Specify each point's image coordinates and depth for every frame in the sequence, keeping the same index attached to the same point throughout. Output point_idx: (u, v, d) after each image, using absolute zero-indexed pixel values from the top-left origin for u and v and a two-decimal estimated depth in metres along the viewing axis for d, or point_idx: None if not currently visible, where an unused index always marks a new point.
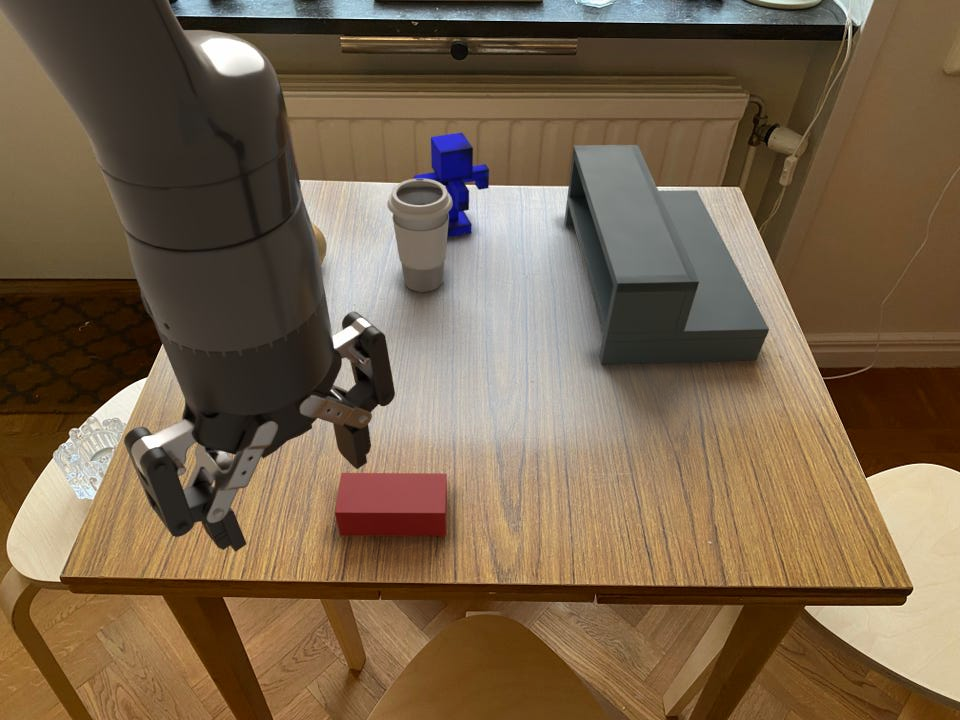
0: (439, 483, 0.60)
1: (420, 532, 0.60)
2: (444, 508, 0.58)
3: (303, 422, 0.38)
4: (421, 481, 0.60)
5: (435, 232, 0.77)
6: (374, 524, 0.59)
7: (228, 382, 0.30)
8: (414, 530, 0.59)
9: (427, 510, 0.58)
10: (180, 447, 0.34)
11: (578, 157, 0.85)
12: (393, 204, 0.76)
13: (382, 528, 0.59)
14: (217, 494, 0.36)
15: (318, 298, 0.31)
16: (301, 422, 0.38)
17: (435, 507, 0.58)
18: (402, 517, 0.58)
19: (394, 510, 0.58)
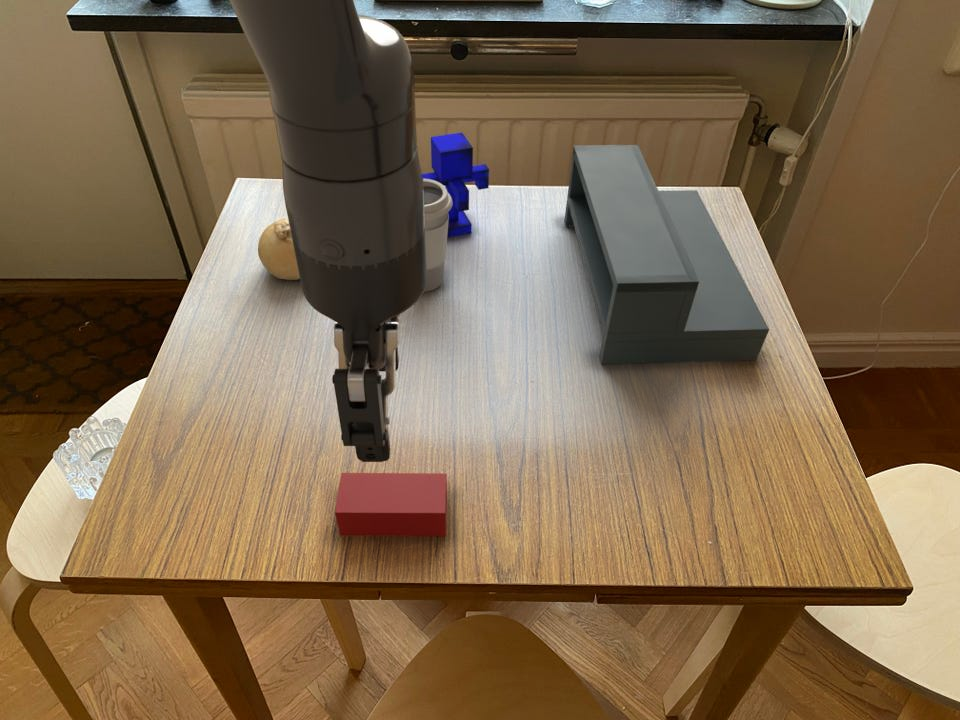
0: (439, 483, 0.60)
1: (420, 532, 0.60)
2: (444, 508, 0.58)
3: None
4: (421, 481, 0.60)
5: (435, 232, 0.77)
6: (374, 524, 0.59)
7: (405, 279, 0.40)
8: (414, 530, 0.59)
9: (427, 510, 0.58)
10: (367, 367, 0.41)
11: (578, 157, 0.85)
12: None
13: (382, 528, 0.59)
14: (385, 402, 0.44)
15: None
16: None
17: (435, 507, 0.58)
18: (402, 517, 0.58)
19: (394, 510, 0.58)
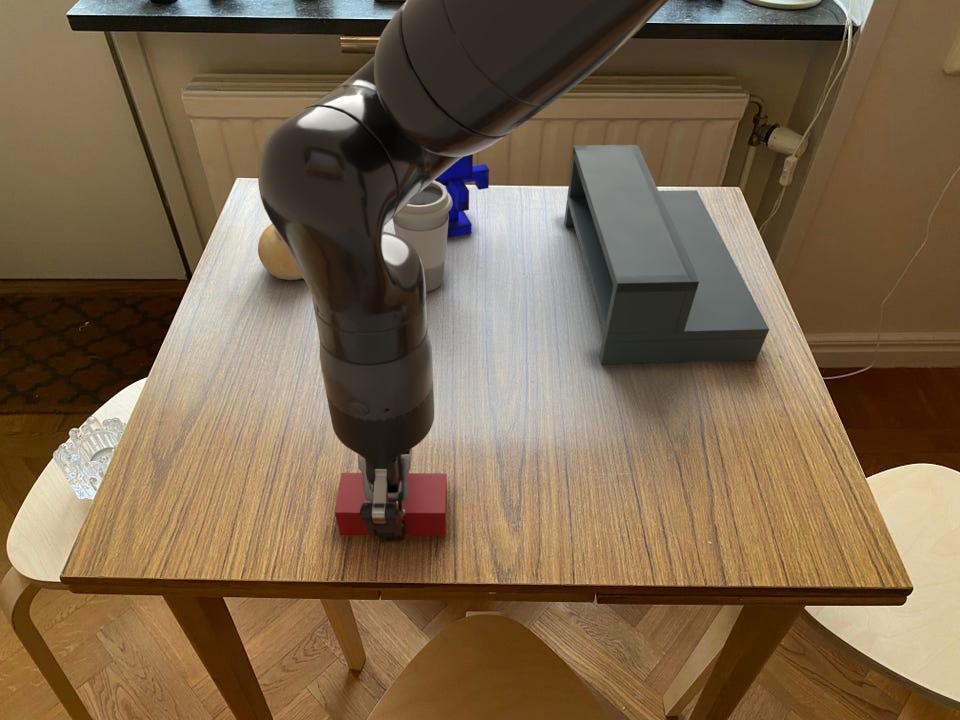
0: (439, 483, 0.60)
1: (420, 532, 0.60)
2: (444, 508, 0.58)
3: None
4: (421, 481, 0.60)
5: (435, 232, 0.77)
6: None
7: (417, 424, 0.49)
8: (414, 530, 0.59)
9: (427, 510, 0.58)
10: (387, 494, 0.51)
11: (578, 157, 0.85)
12: None
13: None
14: None
15: None
16: None
17: (435, 507, 0.58)
18: None
19: None
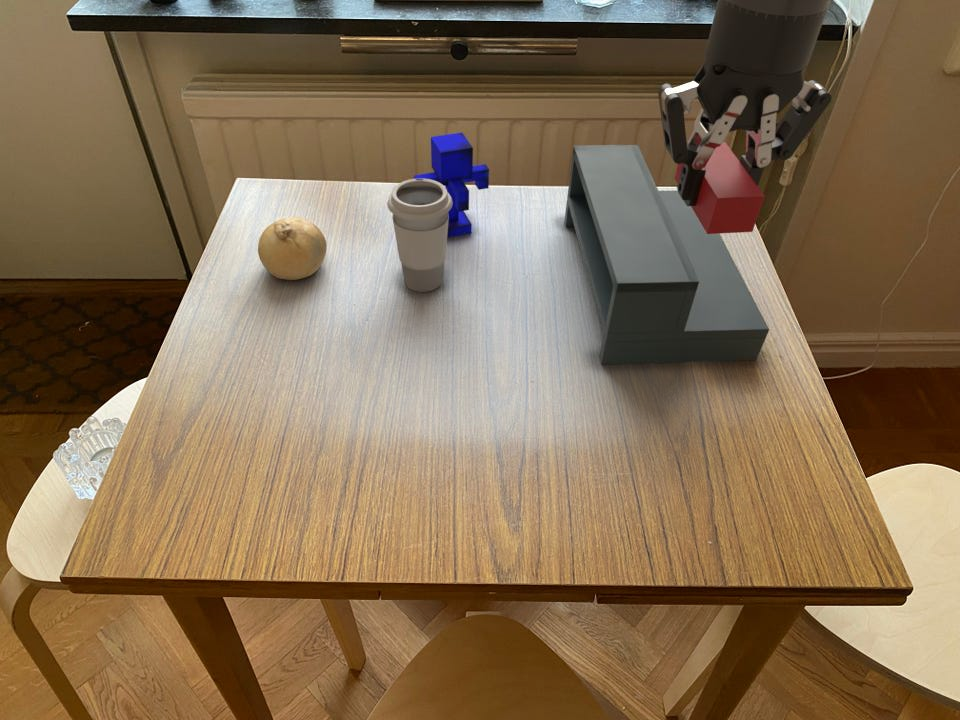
0: (749, 192, 0.58)
1: (700, 214, 0.61)
2: (723, 197, 0.57)
3: (756, 120, 0.56)
4: (745, 182, 0.59)
5: (435, 232, 0.77)
6: None
7: (746, 38, 0.50)
8: (699, 208, 0.61)
9: (715, 188, 0.58)
10: (688, 97, 0.55)
11: (578, 157, 0.85)
12: (393, 204, 0.76)
13: None
14: (707, 147, 0.57)
15: (824, 7, 0.49)
16: (755, 119, 0.56)
17: (720, 192, 0.58)
18: None
19: None
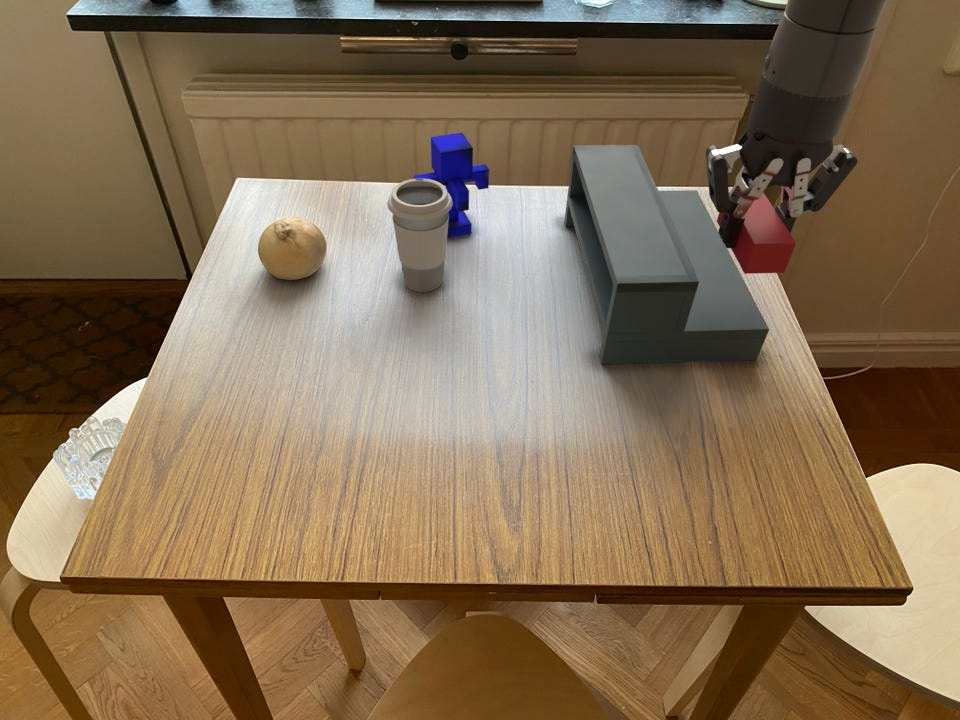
0: (782, 239, 0.66)
1: (738, 255, 0.69)
2: (759, 243, 0.66)
3: (791, 178, 0.65)
4: (779, 230, 0.68)
5: (435, 232, 0.77)
6: None
7: (784, 113, 0.59)
8: (738, 250, 0.70)
9: (752, 234, 0.67)
10: (732, 158, 0.64)
11: (578, 157, 0.85)
12: (393, 204, 0.76)
13: None
14: (747, 200, 0.66)
15: (851, 89, 0.57)
16: (790, 177, 0.65)
17: (757, 238, 0.66)
18: None
19: None
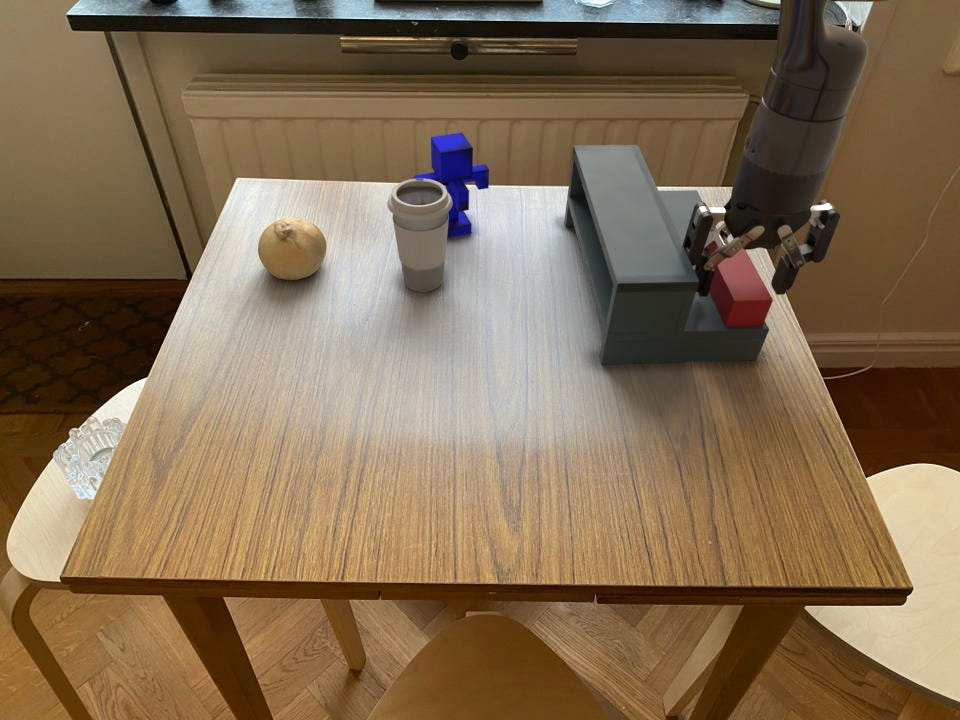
0: (760, 296, 0.71)
1: (720, 309, 0.74)
2: (738, 300, 0.71)
3: (772, 241, 0.70)
4: (758, 286, 0.72)
5: (435, 232, 0.77)
6: None
7: (763, 188, 0.64)
8: (719, 303, 0.74)
9: (732, 291, 0.72)
10: (717, 218, 0.68)
11: (578, 157, 0.85)
12: (393, 204, 0.76)
13: (713, 285, 0.76)
14: (716, 254, 0.71)
15: (824, 167, 0.62)
16: (771, 241, 0.70)
17: (737, 295, 0.71)
18: (722, 284, 0.74)
19: (723, 275, 0.74)
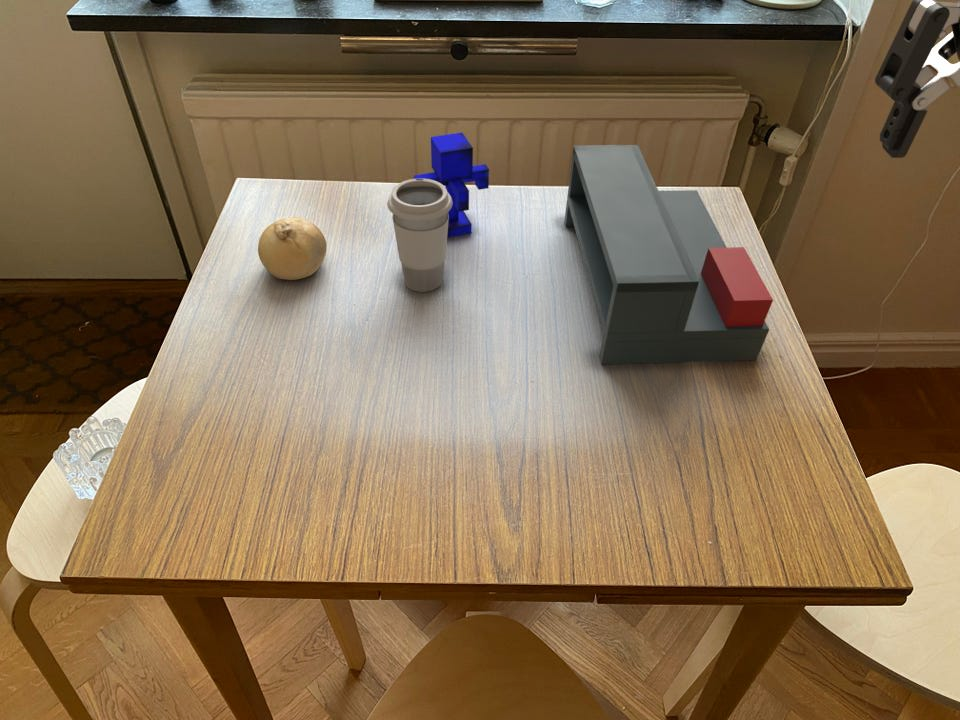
0: (760, 296, 0.71)
1: (720, 309, 0.74)
2: (738, 300, 0.71)
3: None
4: (758, 286, 0.72)
5: (435, 232, 0.77)
6: (712, 277, 0.76)
7: None
8: (719, 303, 0.74)
9: (732, 291, 0.72)
10: (949, 18, 0.45)
11: (578, 157, 0.85)
12: (393, 204, 0.76)
13: (713, 285, 0.76)
14: (936, 81, 0.47)
15: None
16: None
17: (737, 295, 0.71)
18: (722, 284, 0.74)
19: (723, 275, 0.74)
